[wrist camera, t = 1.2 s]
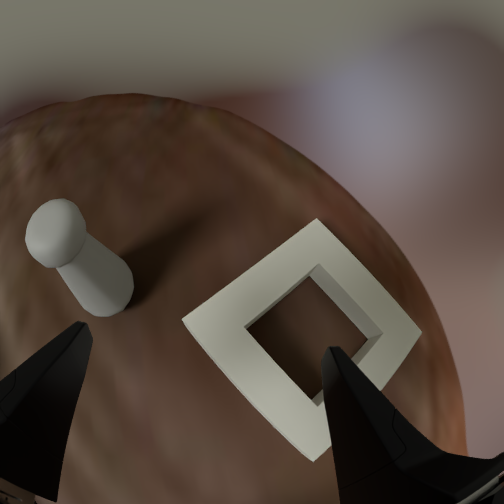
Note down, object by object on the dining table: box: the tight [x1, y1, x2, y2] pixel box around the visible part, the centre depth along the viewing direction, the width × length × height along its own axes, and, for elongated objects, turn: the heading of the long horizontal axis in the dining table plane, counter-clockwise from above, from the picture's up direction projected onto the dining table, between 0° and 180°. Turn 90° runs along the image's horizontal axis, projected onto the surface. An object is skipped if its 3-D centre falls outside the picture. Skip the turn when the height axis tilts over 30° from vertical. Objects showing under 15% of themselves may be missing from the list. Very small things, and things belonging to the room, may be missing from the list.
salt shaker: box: [25, 199, 134, 317], centre depth 18 cm, size 6×6×13 cm
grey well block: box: [182, 218, 422, 462], centre depth 23 cm, size 16×16×3 cm
